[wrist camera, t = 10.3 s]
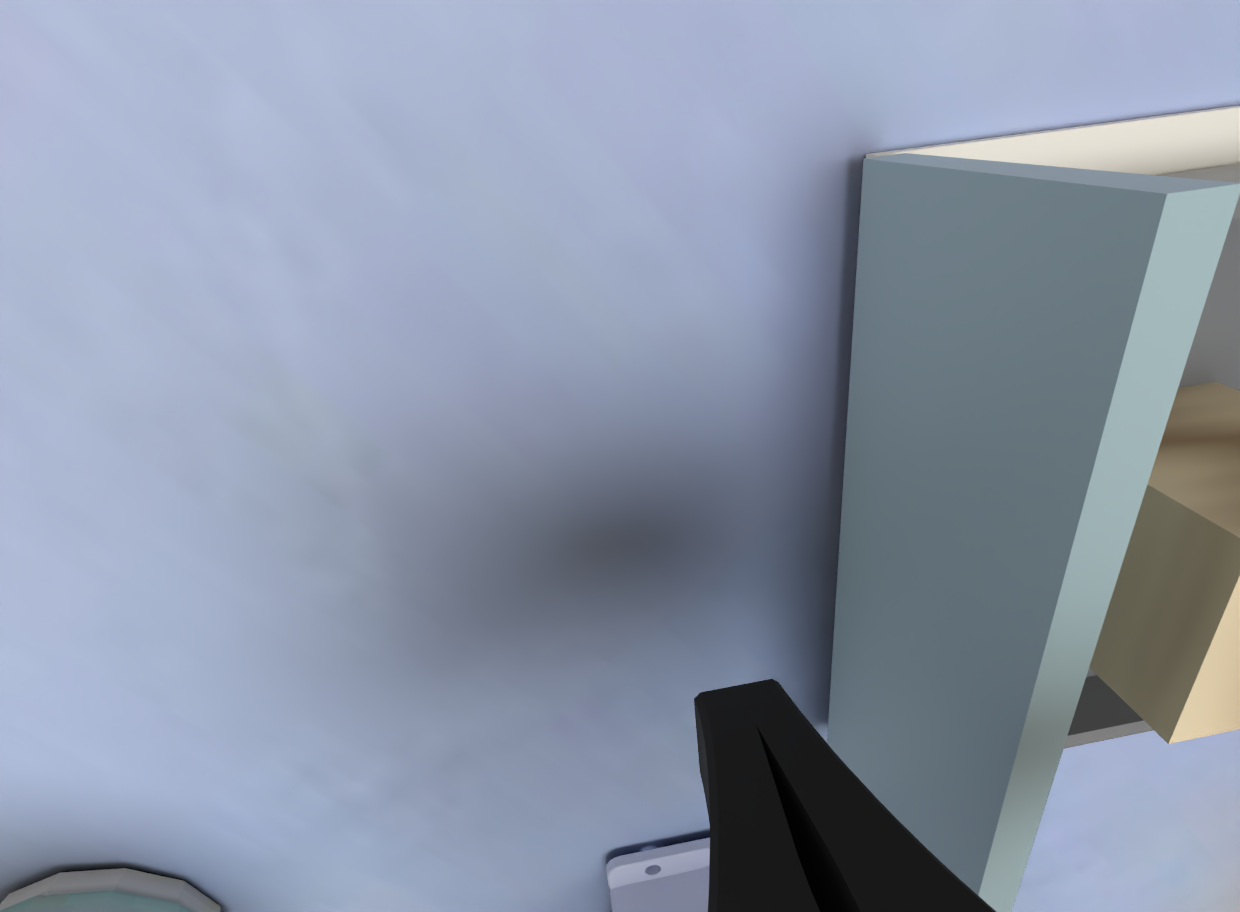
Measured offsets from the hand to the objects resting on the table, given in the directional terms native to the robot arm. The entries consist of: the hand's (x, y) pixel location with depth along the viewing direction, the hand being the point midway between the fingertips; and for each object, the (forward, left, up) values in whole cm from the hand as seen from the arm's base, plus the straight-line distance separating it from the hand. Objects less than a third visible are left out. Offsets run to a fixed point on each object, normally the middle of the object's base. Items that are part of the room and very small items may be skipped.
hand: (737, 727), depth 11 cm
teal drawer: (+10, 0, -6) cm, 12 cm away
